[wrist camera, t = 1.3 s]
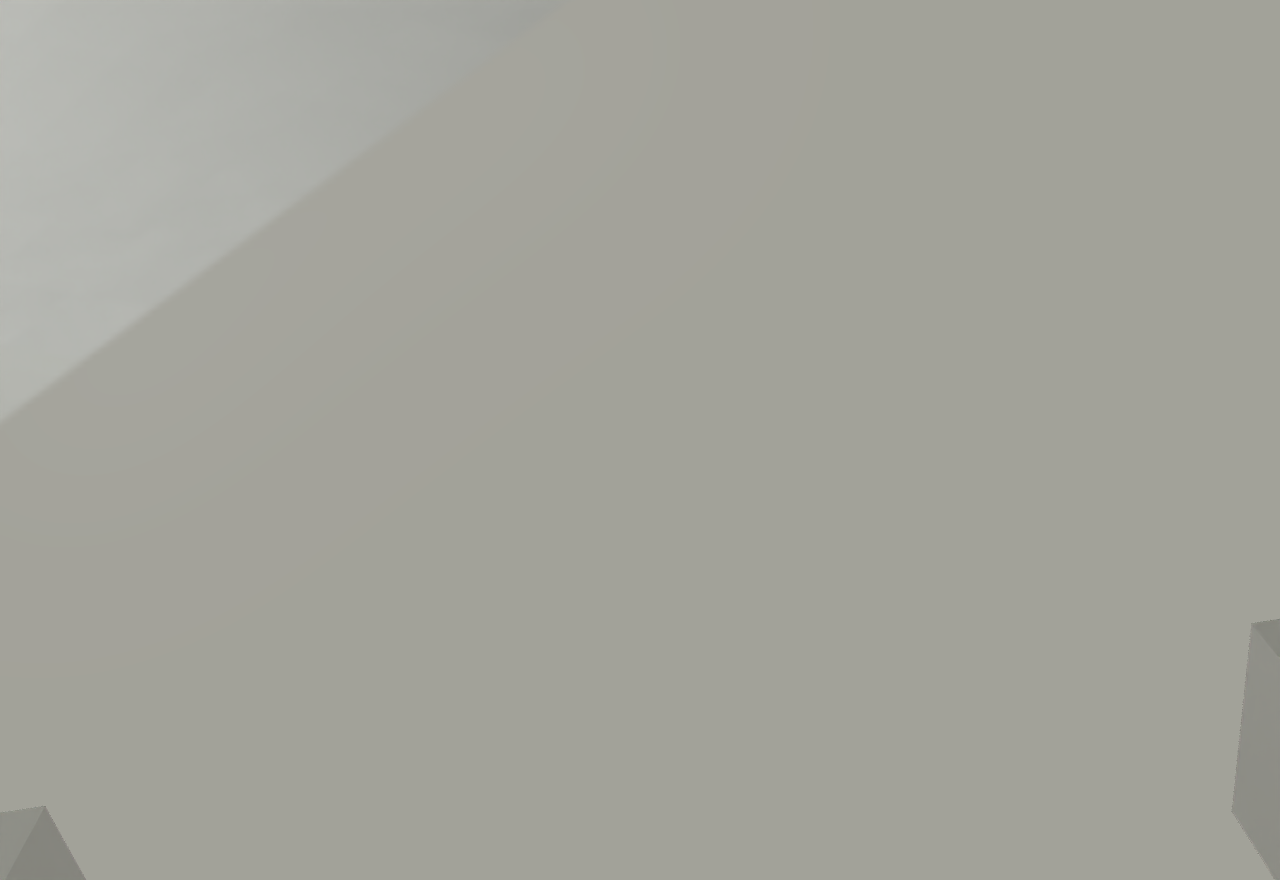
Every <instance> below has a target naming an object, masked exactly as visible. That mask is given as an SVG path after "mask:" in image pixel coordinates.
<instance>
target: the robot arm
mask: <svg viewBox="0 0 1280 880" xmlns="http://www.w3.org/2000/svg"><path fill="white" fill-rule="evenodd" d="M1232 813H1233V814H1234V816H1235V817H1236V819H1237V821H1238V822H1239V824H1240V825H1241V827H1242V829H1243V830H1244V831H1245V833H1246V835H1247V836H1248V838H1249V840H1250V841H1251V843H1252V844H1253V846H1254V847H1255V849H1256V850H1257V852H1258V854H1259V855H1260V857H1261V859H1262V860H1263V862H1264V863H1265V865H1266V866H1267V868H1268V869H1269V871H1270V873H1271V874H1272V876H1273V877H1274V879H1275V880H1280V619H1277V620H1270V621H1263V622H1257V623H1252V624H1251V634H1250V643H1249V652H1248V663H1247V672H1246V681H1245V690H1244V700H1243V709H1242V719H1241V729H1240V739H1239V748H1238V758H1237V767H1236V776H1235V786H1234V796H1233V805H1232ZM0 880H86V879H85V877H84V875H83V874H82V872H81V870H80V868H79V866H78V865H77V863H76V861H75V859H74V857H73V856H72V854H71V852H70V850H69V848H68V847H67V845H66V843H65V841H64V839H63V838H62V836H61V834H60V832H59V830H58V829H57V827H56V825H55V823H54V821H53V819H52V818H51V816H50V814H49V812H48V810H47V809H46V807H45V806H41V807H35V808H28V809H22V810H15V811H8V812H2V813H0Z"/></svg>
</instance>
